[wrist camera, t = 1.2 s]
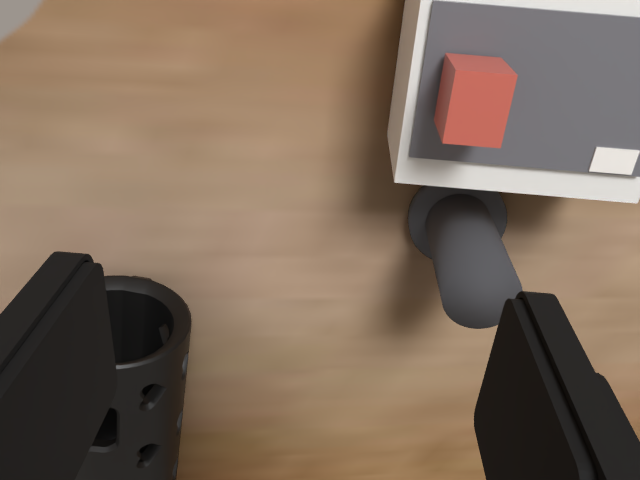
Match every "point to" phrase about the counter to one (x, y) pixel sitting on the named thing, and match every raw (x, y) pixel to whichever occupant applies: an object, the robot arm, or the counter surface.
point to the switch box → (526, 97)
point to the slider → (474, 100)
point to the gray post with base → (465, 251)
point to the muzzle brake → (143, 383)
